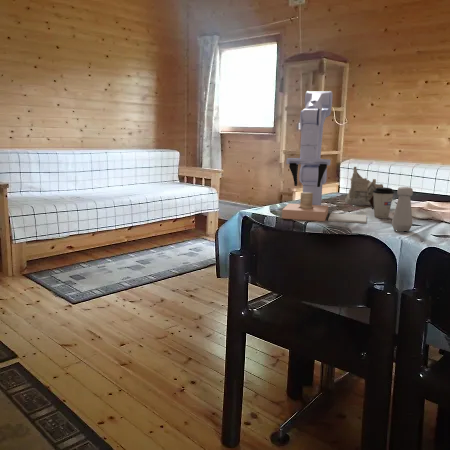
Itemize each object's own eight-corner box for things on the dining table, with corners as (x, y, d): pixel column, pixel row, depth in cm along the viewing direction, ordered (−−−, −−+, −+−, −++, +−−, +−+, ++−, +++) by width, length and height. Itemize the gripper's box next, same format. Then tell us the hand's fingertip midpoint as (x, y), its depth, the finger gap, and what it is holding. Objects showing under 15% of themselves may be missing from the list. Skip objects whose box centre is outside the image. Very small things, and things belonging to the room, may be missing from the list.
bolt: (378, 218, 169) (373, 210, 183) (391, 211, 167) (385, 204, 182) (371, 204, 168) (366, 197, 182) (384, 197, 167) (379, 191, 181)
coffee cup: (366, 216, 160) (368, 187, 158) (378, 214, 165) (380, 186, 163) (384, 219, 155) (387, 189, 153) (396, 217, 160) (398, 188, 158)
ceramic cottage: (343, 203, 188) (348, 166, 185) (345, 199, 203) (350, 165, 201) (383, 208, 184) (389, 170, 181) (383, 204, 199) (388, 169, 196)
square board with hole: (288, 211, 168) (288, 203, 167) (327, 214, 164) (328, 205, 163) (282, 218, 155) (282, 209, 154) (324, 221, 151) (325, 212, 150)
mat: (330, 214, 163) (330, 213, 163) (366, 216, 159) (366, 215, 159) (328, 220, 152) (328, 219, 151) (366, 223, 148) (366, 221, 148)
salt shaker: (388, 231, 137) (392, 187, 135) (393, 227, 142) (397, 185, 139) (409, 233, 134) (413, 188, 131) (413, 230, 139) (418, 187, 136)
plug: (300, 214, 162) (301, 192, 160) (312, 215, 161) (313, 192, 159) (299, 216, 158) (300, 193, 156) (310, 217, 157) (312, 194, 155)
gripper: (285, 145, 153) (283, 186, 156) (330, 146, 149) (328, 188, 152) (288, 144, 159) (287, 184, 162) (331, 145, 155) (329, 186, 158)
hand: (307, 186), depth 157 cm, fingers open, 7 cm apart
